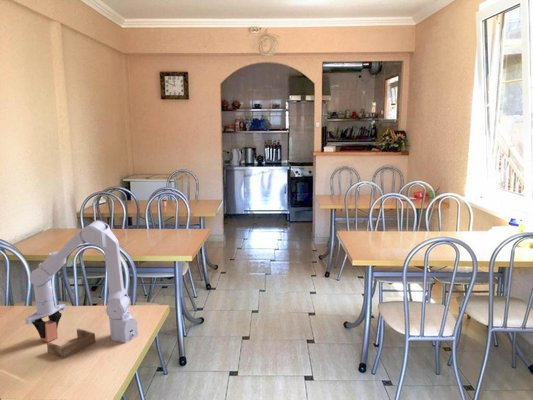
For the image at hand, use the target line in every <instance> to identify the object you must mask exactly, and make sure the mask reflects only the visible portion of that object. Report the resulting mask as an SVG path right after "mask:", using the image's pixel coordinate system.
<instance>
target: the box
mask: <svg viewBox="0 0 533 400" xmlns="http://www.w3.org/2000/svg"><path fill="white" fill-rule="evenodd" d="M76 336H77V337H76V338H74V339H73V340H70V341H69V342H66V343H65V344H62V345H58V344H55V343H52V342H51V341H49V342H46V346H47V353H48V354H51V355H53V356H57V357H58V358H61V359H66V358H68V357H70V356H72V355H74V354H76V353H78V352H81V350H85V349H86V348H87V347H89V346H92V345H93V344H96V335H95V333H94V332H91V331H88V330H85V329H82V328H76Z"/></svg>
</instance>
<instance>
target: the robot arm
mask: <svg viewBox="0 0 533 400" xmlns="http://www.w3.org/2000/svg"><path fill="white" fill-rule="evenodd" d="M86 244H89V245H92V246H95V247H97V248H98V247H99V248H100V249H102V250H103V252H104V253H103V254H104V261H105V262H104V263H105V269H106V277H107V285H108V286H107V287H108V295H107V306H106V309H105V313H106V315H107V317H108V320H109V329H110V330H109V331H110V339H111V340H112V341H114V342H121V343H124V344H126V343H128V342H130V341H132V340H133V339H136V338H138V337H139V333H138V332H139V331H138V321H137V320H136V318H134V317H133V316H132V315H131V314H130V313H131V312H130V310H129V306H130V305H131V298H130V296H129V295H128V292H127V290H128V289H125V286H124V277H123V269H122V268H123V267H122V259H121V251H120V250H121V249H120V241H119V240H118V238H117V237H116V236H115V234H114V233H113V231H112V230H111V228H110V225H109V224H107V223H106V222H104V221H102V220H100V219H99V220H98V219H97V220H94V221H92V223H90V224H88V225H87V226H85V227H83V228H82V229H81V230H80V231H78V232H76V233H75V234H74V235H73V236H72V237H71V238H70V240H68V242H67V243H66V244H65V245H63V247H62V248H61V249H60V250H59V251H53V252H49V253H48V254H47V256H46V257H47V258H46V259H45V260H44V261H43V262H40V263H39V264H38V265H37V266H38V268H36V269H34V270H32V271H31V273H30V275H29V281H30V283H31V284H32V285H33V292H34V298H35V299H34V300H35V308H36V312H34V313H33V314H31V315H29V316H27V317H26V318H25V319H24V321H25V324H26V325H31V324H32V325H33V326H34V327H35V329H36V331H37V333H38V335H39V338H40V339H41V338H43V339H44V338H45V323H46V321H44V319H43V318H46V317H47V318H48V320H51V321H54V322H56V326H57V328H58V327H59V323H60V319H61V318H62V312H61V311H65V310H66V304H64V303H60V304H56V305H55V303H54V294H53V285H52V278H53V277H54V275H56V274H57V273H58V271H60V269H62V267H63V266H65V265H66V263H67V257H68V256H70V254H71V253H72V252H74V250H76V249H77V248H78V247H79V246H80V245H86Z"/></svg>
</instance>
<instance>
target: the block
mask: <svg viewBox="0 0 533 400" xmlns="http://www.w3.org/2000/svg"><path fill="white" fill-rule="evenodd" d="M45 322H46V323H45V338H44V339H43V338H40V340H41V341H43V342H46V343H48V342H51V341H53V340H56V339H57V338H58V337H59V336H58V327H57V326H56V322H54V321H51V320H49V319H48V320H46V321H45Z"/></svg>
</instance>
